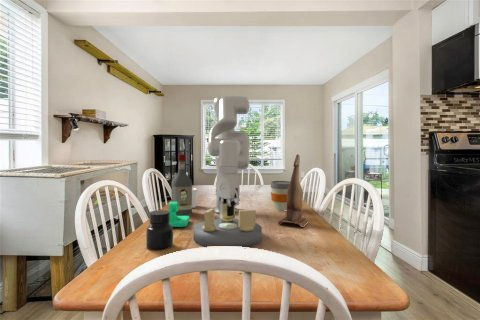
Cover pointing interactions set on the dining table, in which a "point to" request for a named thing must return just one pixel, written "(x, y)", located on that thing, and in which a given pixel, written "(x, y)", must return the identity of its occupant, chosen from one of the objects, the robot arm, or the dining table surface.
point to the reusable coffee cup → (279, 194)
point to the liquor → (182, 189)
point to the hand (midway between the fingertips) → (227, 214)
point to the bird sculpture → (294, 198)
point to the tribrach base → (228, 230)
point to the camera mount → (176, 220)
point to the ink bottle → (159, 231)
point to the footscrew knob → (225, 213)
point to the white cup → (194, 197)
